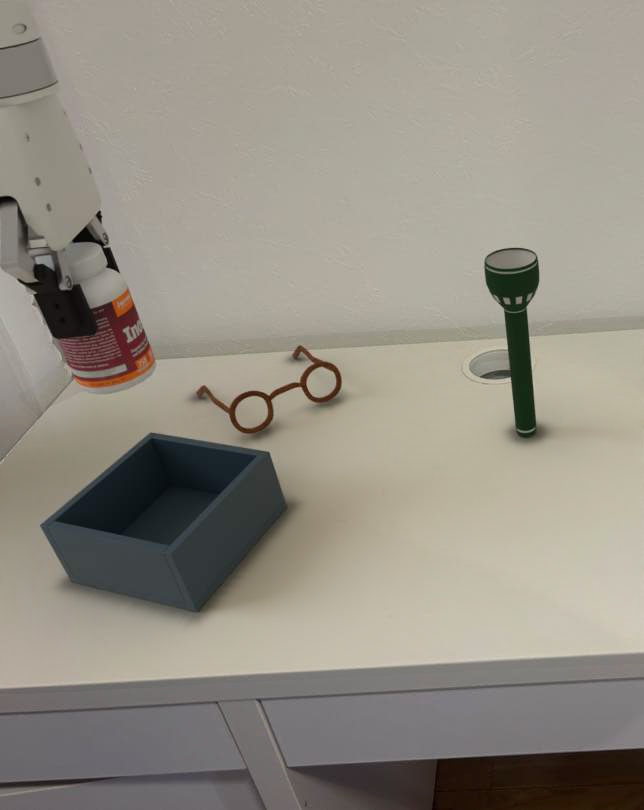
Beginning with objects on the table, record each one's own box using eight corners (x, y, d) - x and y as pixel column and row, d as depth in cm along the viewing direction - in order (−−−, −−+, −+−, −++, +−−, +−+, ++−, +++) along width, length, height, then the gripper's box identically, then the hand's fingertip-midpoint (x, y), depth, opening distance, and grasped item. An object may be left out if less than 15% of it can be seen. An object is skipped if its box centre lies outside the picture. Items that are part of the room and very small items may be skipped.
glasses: (240, 443, 87) (227, 405, 84) (196, 396, 95) (183, 360, 92) (347, 395, 93) (338, 358, 90) (297, 355, 102) (288, 321, 99)
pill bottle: (160, 384, 65) (112, 259, 59) (78, 405, 63) (19, 278, 57) (156, 350, 70) (111, 231, 64) (80, 369, 68) (25, 248, 62)
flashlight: (547, 416, 87) (534, 244, 76) (553, 443, 83) (541, 266, 72) (500, 421, 87) (481, 250, 76) (504, 449, 83) (485, 272, 71)
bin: (71, 582, 71) (39, 525, 67) (173, 485, 81) (150, 431, 77) (197, 612, 67) (171, 554, 63) (287, 507, 77) (269, 451, 73)
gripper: (-10, 56, 60) (81, 274, 70) (-143, 113, 46) (-4, 376, 56) (92, 47, 61) (169, 265, 71) (-8, 100, 46) (106, 364, 56)
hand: (91, 312), depth 63 cm, fingers closed on pill bottle, 6 cm apart
